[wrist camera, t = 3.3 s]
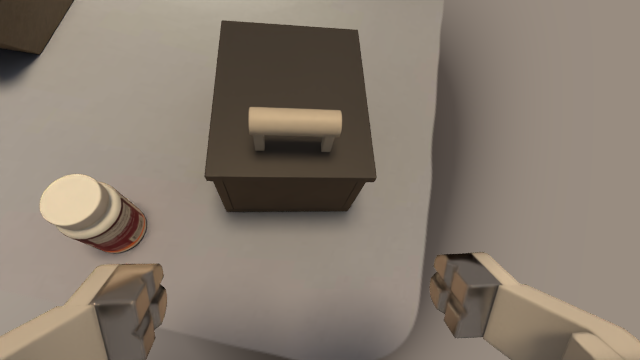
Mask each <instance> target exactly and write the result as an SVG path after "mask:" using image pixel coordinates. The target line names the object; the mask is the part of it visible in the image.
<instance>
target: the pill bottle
mask: <svg viewBox="0 0 640 360" xmlns="http://www.w3.org/2000/svg"><path fill="white" fill-rule="evenodd" d="M39 206H40V212H41V214H42V216H43V217H44V219H45V220H47V221H48V222H49V223H51V224H53V225H56V227H57V228H58V230H59V231H60V232H61V233H63V234H64V235H65V236H67V237H70V238H72V239H75V240H78V241H80V242H83V243H85V244H87V245H90V246H93V247H95V248H97V249H100V250H102V251H105V252H109V253H119V252H123V251H126V250H128V249H130V248H132V247H133V246H135V245H136V244H137V243H138V242H139V241H140V240H141V239H142V237H143V235H144V233H145V230H146V219H145V216H144V215H143V213H142V212H141V211H140V210H139V209H138V208H137V207H136V206H135V205H133V204H132V203H131V202H130V201H128V200H127V199H126V198H125V197H124V196H123V195H121V194H120V193H119V192H118V191H117V190H115V189H114V188H113V187H111V186H110V185H108V184H105V183H102V182H97V181H96V180H95V179H93V178H91V177H89V176H87V175H82V174H72V175H68V176H64V177H62V178H59V179H57V180H56V181H54V182H53V183H52V184H50V185H49V186H48V187H47V188H46V190H45V191H44V193H43V194H42V196H41V199H40V205H39Z"/></svg>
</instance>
